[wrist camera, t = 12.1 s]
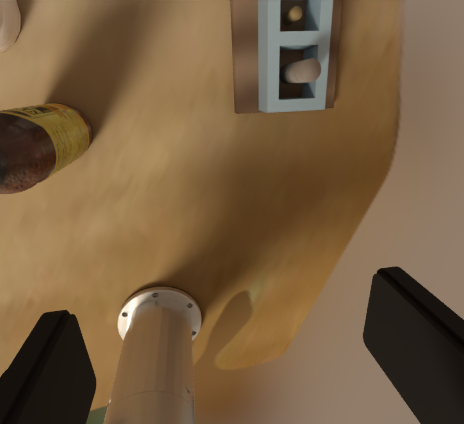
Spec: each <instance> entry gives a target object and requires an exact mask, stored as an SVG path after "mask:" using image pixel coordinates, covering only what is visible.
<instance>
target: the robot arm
mask: <svg viewBox="0 0 464 424" xmlns="http://www.w3.org/2000/svg"><path fill="white" fill-rule="evenodd" d="M201 320H202V318H201V311H200V308H199V305H198V304H197V302H196V301H195V300H194V299H193V298H192V297H191V296H190V295H188V294H187V293H185V292H184V291H181V290H179V289H176V288H171V287H152V288H148V289H144V290H142V291H139V292H137V293H136V294H134V295H133V296H131V297H130V298H129V299H128V300H127V301H126V302H125V303H124V305H123V306H122V308H121V310H120V313H119V316H118V320H117V327H118V331H119V334H120V336H121V337H122V339H123V340H124V341H123V345H122V349H121V354H120V358H119V362H118V366H117V370H116V374H115V378H114V382H113V387H112V391H111V395H110V399H109V403H108V407H107V412H106V416H105V420H104V424H195V414H194V413H195V412H194V381H193V349H192V341H193V340H194V339H195V337H196V336H197V335H198V333H199V331H200V328H201ZM363 339H364V343H365V345H366V347H367V348H368V350H369V351H370V353H371V354H372V356H373V357H374V358H375V360H376V361H377V363H378V364H379V365H380V367H381V368H382V370H383V371H384V372H385V374H386V375H387V377H388V378H389V380H390V381H391V382H392V384H393V385H394V387H395V388H396V389H397V391H398V392H399V393H400V395H401V397H402V398H403V399H404V401H405V402H406V404H407V405H408V406H409V408H410V409H411V411H412V412H413V414H414V415H415V416H416V418H417V419H418V421H419V422H420V423H421V424H464V320H463V319H462V318H460V317H459V316H458V315H457V314H456V313H454V312H453V311H452V310H451V309H450V308H449V307H447V306H446V305H445V304H444V303H442V302H441V301H440V300H439V299H438V298H436V297H435V296H434V295H433V294H432V293H430V292H429V291H428V290H427V289H426V288H424V287H423V286H422V285H421V284H419V283H418V282H417V281H416V280H415V279H413V278H412V277H411V276H410V275H409V274H407V273H406V272H405V271H404V270H402V269H401V268H399V267H388V268H381V269H379V270H378V271H377V274H374V276H373V279H372V285H371V291H370V297H369V303H368V308H367V314H366V321H365V326H364V332H363ZM95 390H96V377H95V374H94V371H93V367H92V364H91V361H90V358H89V355H88V352H87V349H86V346H85V343H84V340H83V337H82V333H81V330H80V327H79V324H78V321H77V318H76V316H75V315H74V314H70V313H69V312H68V311H67V310H61V311H53V312H46V313H44V314H43V315H42V316H41V317H40V319H39V320H38V322H37V323H36V325H35V327H34V328H33V330H32V331H31V333H30V334H29V336H28V338H27V339H26V341H25V342H24V344H23V346H22V347H21V349H20V350H19V352H18V353H17V355H16V357H15V358H14V360H13V361H12V363H11V365H10V366H9V368H8V369H7V370H6V371H5V372H4V373H3V374H2V376H1V377H0V424H86V421H87V418H88V415H89V411H90V408H91V404H92V401H93V398H94V394H95Z"/></svg>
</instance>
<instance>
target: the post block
mask: <svg viewBox="0 0 464 424" xmlns="http://www.w3.org/2000/svg"><path fill="white" fill-rule="evenodd" d="M230 2H231V28H232V53H233V79H234V104H235V113H236V114H240V113H257V112H263V111H259V69H258V0H230ZM305 9H306V0H302V1H280V32H286V31H305ZM341 12H342V0H333V9H332V22H331V35H330V48H329V62H328V75H327V88H326V101H325V108H333V107H334V95H335V83H336V71H337V59H338V47H339V36H340V24H341ZM303 52H304V50H280V55H279V98H297V97H301V95H302V83H304V82H313V81H315V80H317V79H318V77H319V76H320V74H321V65H320V63H319V61H318V60H316V59H313V58H310V59H306V60H303Z"/></svg>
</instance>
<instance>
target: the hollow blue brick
mask: <svg viewBox="0 0 464 424" xmlns="http://www.w3.org/2000/svg"><path fill="white" fill-rule="evenodd" d="M280 1H302V0H258V69H259V111H263V112H267V113H272V112H290V111H307V110H325V101H326V88H327V75H328V62H329V48H330V35H331V22H332V9H333V0H306V9H305V31H286V32H280ZM280 50H304V52H303V60H306V59H310V58H313V59H316V60H318V61H319V63H320V65H321V74H320V76H319V77H318V79H317V80H315V81H313V82H304V83H302V95H301V97H297V98H279V55H280Z"/></svg>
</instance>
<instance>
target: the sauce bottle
mask: <svg viewBox="0 0 464 424" xmlns="http://www.w3.org/2000/svg"><path fill="white" fill-rule="evenodd" d="M91 140H92V131H91V128H90V125H89V123H88V121H87V119H86V118H85V116H84V115H83V114H82V113H80V112H79V111H78V110H76V109H74V108H72V107H70V106H68V105H61V104H55V103H51V104H43V105H37V106H29V107H22V108H15V109H9V110H3V111H0V194H12V193H18V192H22V191H25V190H27V189H29V188H31V187H33V186H35V185H36V184H37V183H39V182H42V181H43V180H46V179H47V178H49V177H50V176H52V175H53V174H55V173H56V172H58V171H59V170H61V169H62V168H64V167H65V166H67V165H69V164H70V163H72V162H73V161H75V160H76V159H78V158H79V157H80V156H82V155H83V154H84V153H85V151H86V150H87V149H88V148H89V145H90V143H91Z"/></svg>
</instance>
